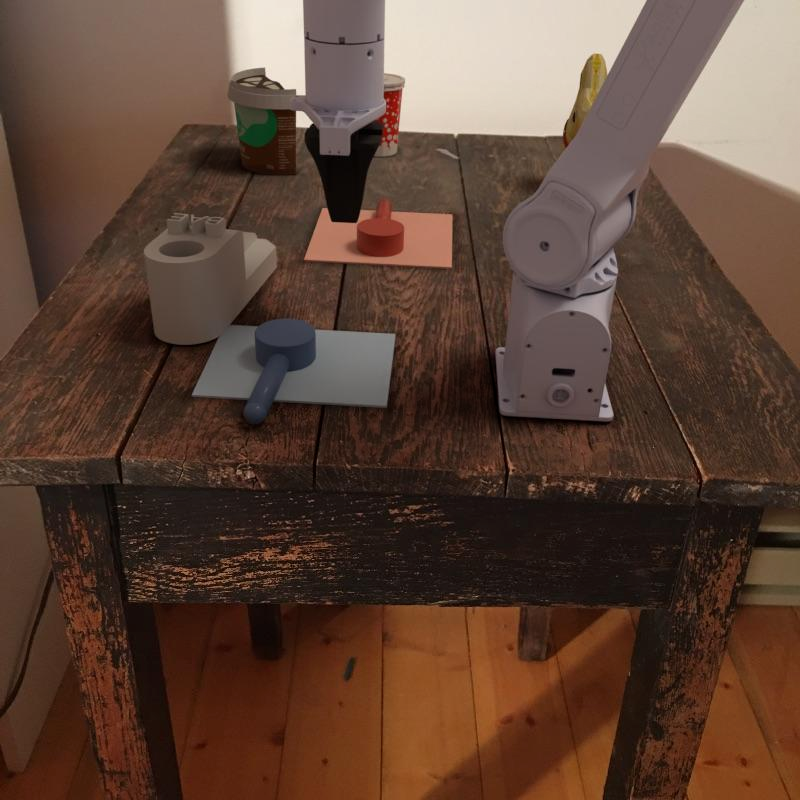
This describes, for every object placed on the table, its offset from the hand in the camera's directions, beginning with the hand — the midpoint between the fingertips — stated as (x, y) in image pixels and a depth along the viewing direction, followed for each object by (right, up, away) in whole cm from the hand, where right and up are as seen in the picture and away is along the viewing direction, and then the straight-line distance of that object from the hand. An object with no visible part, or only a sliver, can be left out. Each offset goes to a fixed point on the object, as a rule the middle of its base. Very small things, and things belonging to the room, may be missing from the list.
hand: (345, 219), depth 72 cm
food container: (-13, +14, +39) cm, 43 cm away
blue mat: (-3, -12, -2) cm, 12 cm away
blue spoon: (-5, -13, -5) cm, 15 cm away
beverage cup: (+2, +17, +45) cm, 48 cm away
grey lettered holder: (-11, -5, +7) cm, 15 cm away
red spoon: (+2, +3, +21) cm, 21 cm away
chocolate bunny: (+26, +10, +35) cm, 45 cm away
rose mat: (+3, +2, +20) cm, 21 cm away
